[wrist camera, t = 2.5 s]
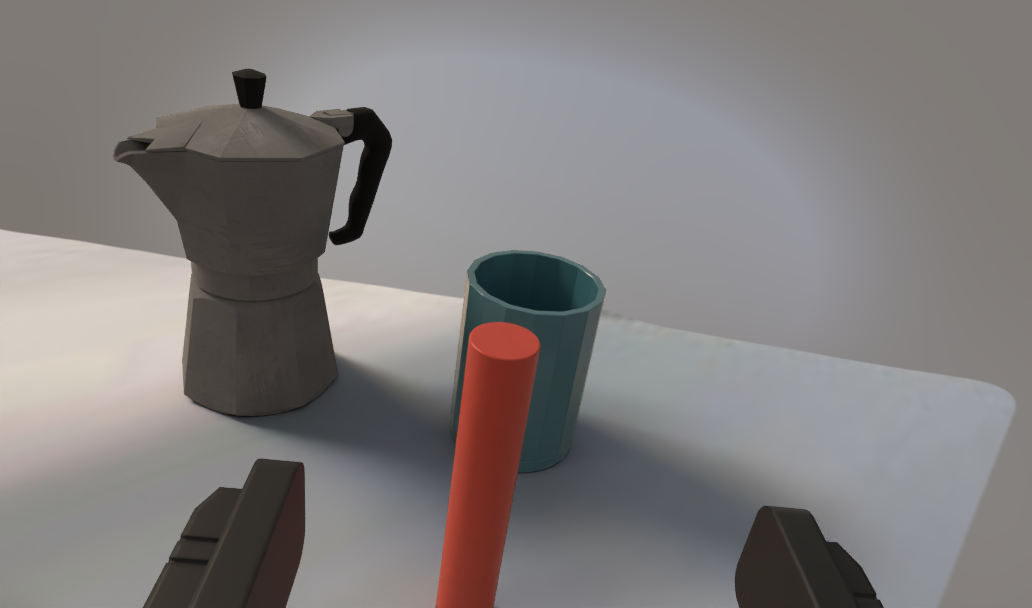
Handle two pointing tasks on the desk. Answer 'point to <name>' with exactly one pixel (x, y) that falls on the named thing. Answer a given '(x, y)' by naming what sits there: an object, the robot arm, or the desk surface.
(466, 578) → the red cylindrical rod
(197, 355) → the coffeepot
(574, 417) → the cup
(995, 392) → the desk surface
